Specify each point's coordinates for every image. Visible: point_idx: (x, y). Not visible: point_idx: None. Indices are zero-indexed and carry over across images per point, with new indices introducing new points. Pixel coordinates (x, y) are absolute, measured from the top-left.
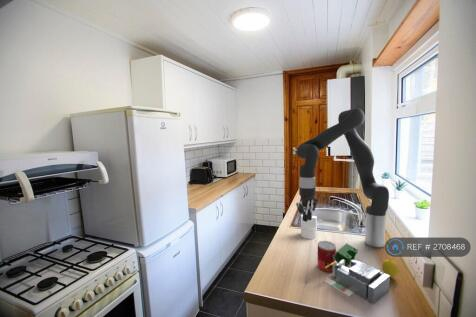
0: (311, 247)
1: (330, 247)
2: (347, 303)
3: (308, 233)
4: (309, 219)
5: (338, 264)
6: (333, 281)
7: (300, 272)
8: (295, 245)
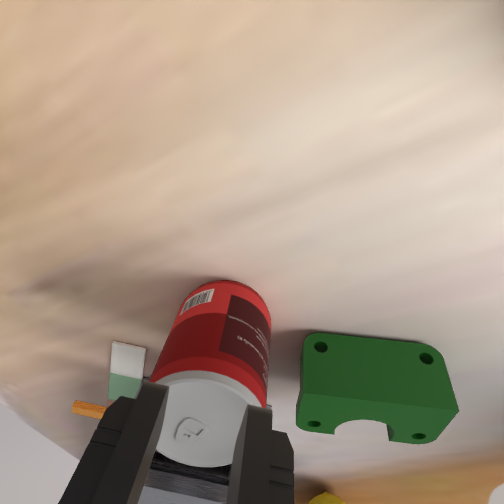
0: (412, 161)
1: (194, 441)
2: (70, 422)
3: None
4: (236, 443)
5: None
6: (139, 370)
7: (83, 235)
8: (375, 30)
